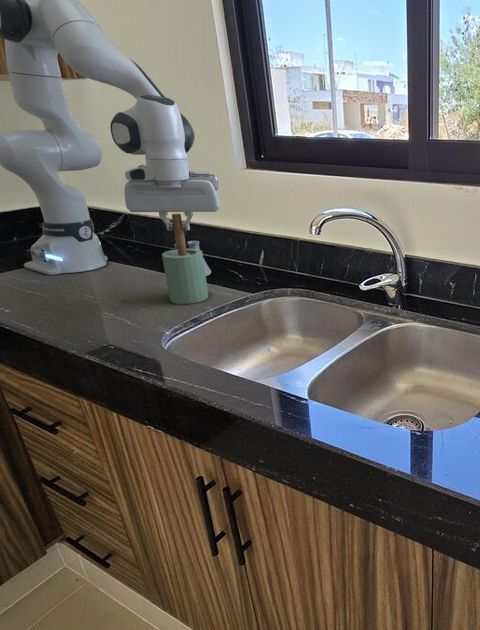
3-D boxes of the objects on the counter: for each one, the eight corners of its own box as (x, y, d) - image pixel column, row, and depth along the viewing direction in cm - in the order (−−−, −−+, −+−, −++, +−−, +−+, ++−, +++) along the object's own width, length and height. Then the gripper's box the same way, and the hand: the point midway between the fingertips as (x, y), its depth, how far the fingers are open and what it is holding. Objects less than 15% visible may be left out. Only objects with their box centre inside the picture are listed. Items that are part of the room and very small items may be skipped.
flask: (215, 272, 144) (211, 239, 140) (203, 279, 137) (198, 245, 133) (193, 270, 144) (188, 238, 141) (179, 277, 138) (174, 244, 134)
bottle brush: (175, 278, 119) (164, 214, 113) (185, 274, 122) (175, 212, 116) (186, 280, 118) (176, 215, 112) (197, 276, 121) (187, 213, 115)
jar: (162, 301, 120) (153, 255, 115) (188, 290, 128) (181, 247, 123) (191, 306, 117) (183, 259, 113) (215, 294, 125) (209, 250, 121)
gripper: (218, 170, 116) (225, 227, 121) (126, 169, 111) (137, 228, 116) (214, 173, 110) (221, 232, 115) (116, 172, 106) (128, 233, 111)
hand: (178, 230), depth 116 cm, fingers closed on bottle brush, 2 cm apart
